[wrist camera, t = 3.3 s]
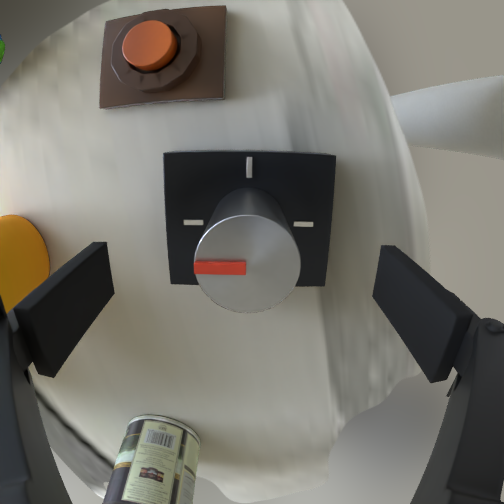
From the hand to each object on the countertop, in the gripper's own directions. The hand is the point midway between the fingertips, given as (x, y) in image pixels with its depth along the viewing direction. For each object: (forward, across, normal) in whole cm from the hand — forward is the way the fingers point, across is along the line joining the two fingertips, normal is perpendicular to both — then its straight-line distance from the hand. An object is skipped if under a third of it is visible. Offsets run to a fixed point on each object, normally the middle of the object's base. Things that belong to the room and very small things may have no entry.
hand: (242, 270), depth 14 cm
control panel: (+11, 0, 0) cm, 11 cm away
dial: (+8, 0, 0) cm, 8 cm away
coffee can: (+12, -11, -30) cm, 34 cm away
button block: (+12, -7, +13) cm, 19 cm away
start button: (+9, -7, +13) cm, 17 cm away
